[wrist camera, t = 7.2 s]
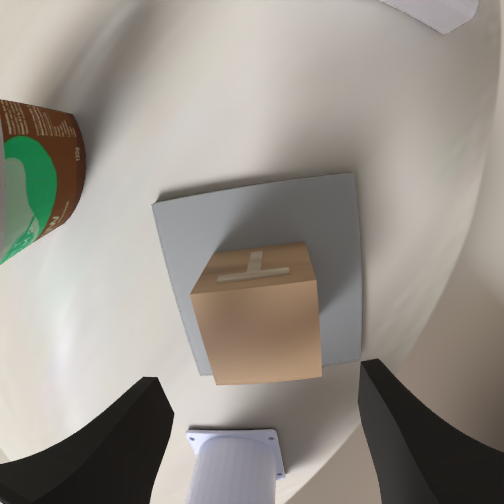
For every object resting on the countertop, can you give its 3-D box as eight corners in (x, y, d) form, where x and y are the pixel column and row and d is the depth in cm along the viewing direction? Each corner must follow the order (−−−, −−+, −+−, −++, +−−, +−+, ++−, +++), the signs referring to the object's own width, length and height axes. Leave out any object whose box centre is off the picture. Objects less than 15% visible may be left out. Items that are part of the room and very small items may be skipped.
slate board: (358, 354, 19) (360, 360, 18) (201, 370, 20) (200, 375, 20) (351, 172, 15) (354, 173, 15) (155, 202, 16) (151, 204, 16)
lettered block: (312, 320, 18) (322, 377, 13) (230, 329, 18) (216, 385, 13) (304, 239, 16) (316, 277, 11) (212, 251, 17) (189, 292, 12)
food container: (42, 278, 19) (-46, 344, 10) (3, 218, 18) (-90, 261, 8) (138, 167, 16) (7, 199, 7) (86, 97, 15) (-43, 83, 5)
